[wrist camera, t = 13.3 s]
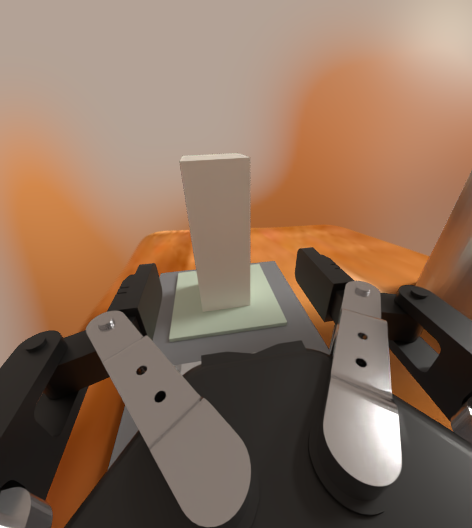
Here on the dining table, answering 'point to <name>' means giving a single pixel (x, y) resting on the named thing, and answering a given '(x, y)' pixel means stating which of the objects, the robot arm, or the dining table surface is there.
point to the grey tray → (224, 325)
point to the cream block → (219, 226)
